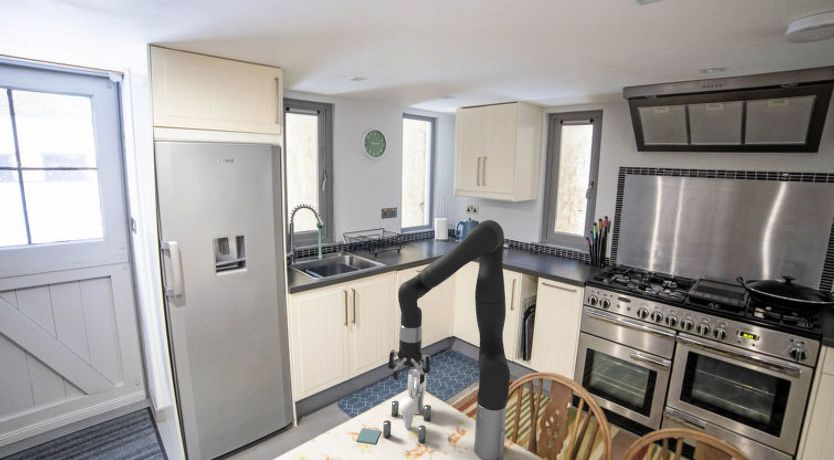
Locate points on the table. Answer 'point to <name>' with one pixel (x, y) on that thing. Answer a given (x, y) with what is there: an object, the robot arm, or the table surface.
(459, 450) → the table surface
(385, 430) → the spacers
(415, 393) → the beer glass
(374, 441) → the mat
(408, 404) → the lightbulb
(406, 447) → the table surface
